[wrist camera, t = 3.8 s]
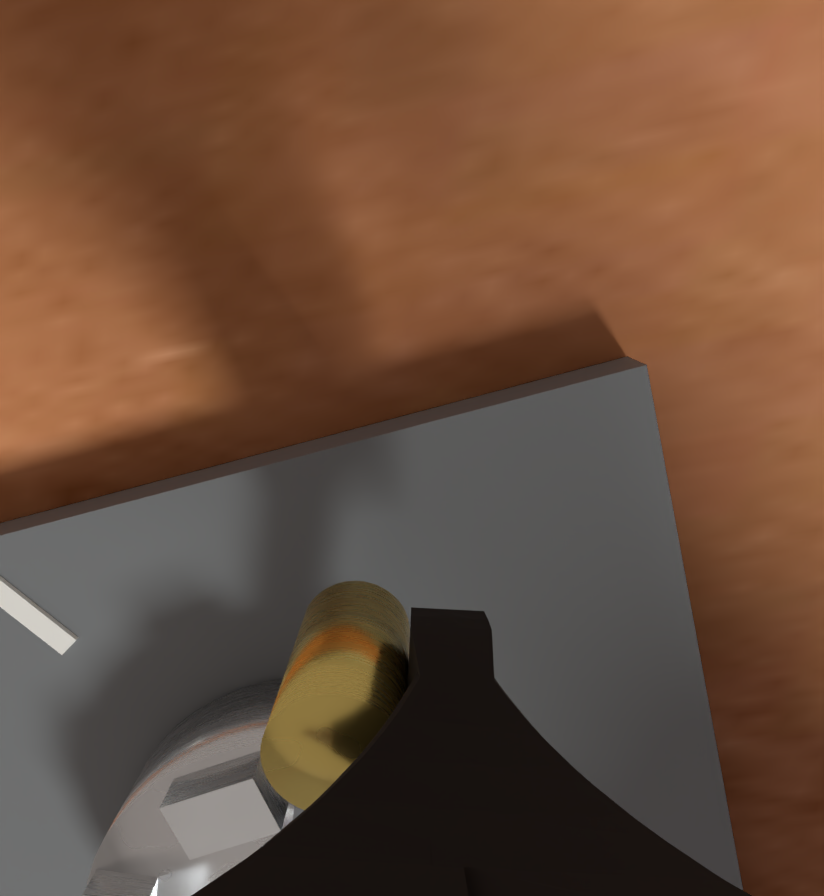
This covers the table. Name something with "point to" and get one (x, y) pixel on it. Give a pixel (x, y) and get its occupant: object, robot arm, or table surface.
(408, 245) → the table surface
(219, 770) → the lathe jaw chuck
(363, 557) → the base plate
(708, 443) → the table surface
